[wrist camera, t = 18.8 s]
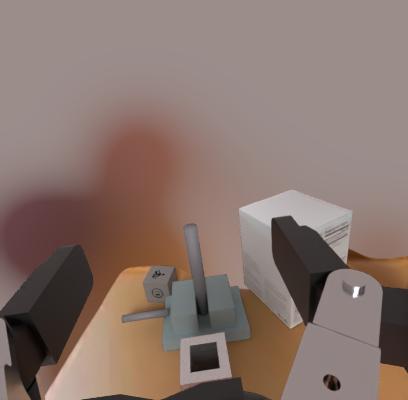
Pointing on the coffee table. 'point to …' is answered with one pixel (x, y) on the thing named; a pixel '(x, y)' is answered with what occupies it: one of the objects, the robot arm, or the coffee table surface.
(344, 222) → the supplement box
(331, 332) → the robot arm
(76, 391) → the coffee table surface
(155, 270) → the dice cube
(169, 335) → the vise
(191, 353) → the steel sleeve
